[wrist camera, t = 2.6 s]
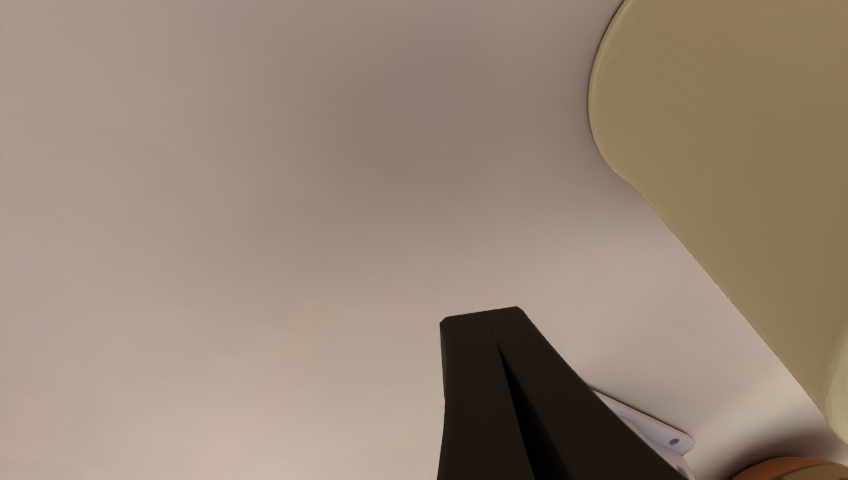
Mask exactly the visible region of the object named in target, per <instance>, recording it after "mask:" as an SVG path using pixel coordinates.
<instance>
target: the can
mask: <svg viewBox="0 0 848 480" xmlns="http://www.w3.org/2000/svg"><path fill="white" fill-rule="evenodd" d="M588 110H589V121H590V126H591V130H592V134H593V138H594V141H595V143H596V146H597V148H598V150H599V152H600V154H601V155H602V157H603V159H604V160H605V161H606V163H607V164H608V165H609V167H610V168H611V169H612V170H613V171H614V172H615V173H616V174H617V175H618V176H619V177H620V178H622V179H623V180H624V181H626V182H627V183H629V184H630V185H632V187H633V188H634V189H635V190H636V191H637V192H638V193H639V194H640V195H641V196H642V197H643V198H644V200H645V201H646V202H647V203H648V204H649V205H650V206H651V208H652V209H653V210H654V211H655V212H656V213H657V215H658V216H659V217H660V218H661V219H662V220H663V221H664V223H665V224H666V225H667V226H668V227H669V228H670V229H671V231H672V232H673V233H674V234H675V235H676V236H677V238H678V239H679V240H680V241H681V242H682V243H683V244H684V246H685V247H686V248H687V249H688V250H689V252H690V253H691V254H692V255H693V256H694V258H695V259H696V260H697V261H698V262H699V264H700V265H701V266H702V267H703V268H704V269H705V271H706V272H707V273H708V274H709V275H710V277H711V278H712V279H713V280H714V281H715V283H716V284H717V285H718V286H719V287H720V289H721V290H722V291H723V292H724V293H725V295H726V296H727V297H728V298H729V299H730V301H731V302H732V303H733V304H734V305H735V306H736V308H737V309H738V310H739V311H740V312H741V314H742V315H743V316H744V317H745V318H746V320H747V321H748V322H749V323H750V324H751V326H752V327H753V328H754V329H755V330H756V332H757V333H758V334H759V335H760V336H761V338H762V339H763V340H764V341H765V342H766V343H767V345H768V346H769V347H770V348H771V349H772V351H773V352H774V353H775V354H776V355H777V357H778V358H779V359H780V360H781V361H782V363H783V364H784V365H785V366H786V368H787V369H788V370H789V371H790V373H791V374H792V375H793V376H794V378H795V379H796V380H797V381H798V383H799V384H800V385H801V386H802V388H803V389H804V390H805V391H806V393H807V394H808V395H809V396H810V398H811V399H812V400H813V401H814V403H815V404H816V405H817V407H818V408H819V409H820V411H821V412H822V414H823V415H824V417H825V419H826V421H827V423H828V424H829V426H830V427H831V429H832V430H833V431H834V432H835V434H836V435H837V436H838V437H839V438H840V439H841V440H842V441H843V442H845V443H846V444H847V445H848V0H625V1H624V2H623V4H622V5H621V7H620V8H619V10H618V11H617V13H616V14H615V16H614V18H613V19H612V21H611V23H610V25H609V27H608V29H607V31H606V33H605V35H604V37H603V39H602V42H601V44H600V47H599V50H598V53H597V55H596V58H595V61H594V65H593V68H592V73H591V77H590V84H589V94H588Z"/></svg>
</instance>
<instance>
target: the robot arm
mask: <svg viewBox="0 0 848 480" xmlns="http://www.w3.org/2000/svg"><path fill="white" fill-rule="evenodd" d="M440 337H441V353H442V369H443V385H444V397H445V415H444V428H443V437H442V445H441V453H440V460H439V468H438V476H437V480H696V479H695V477H694V475H693V474H692V472H691V470H690V468H689V467H688V465H687V463H686V461H685V460H684V458H683V455H684V454H685V453H687V452H688V451H689V450H691V449H692V448H693V446H694V441H693V439H692V438H691V437H690V436H689V435H687V434H685V433H683V432H681V431H678V430H676V429H674V428H672V427H670V426H668V425H666V424H664V423H662V422H659V421H657V420H655V419H653V418H651V417H649V416H647V415H645V414H643V413H641V412H638V411H636V410H634V409H632V408H630V407H628V406H626V405H624V404H622V403H619V402H617V401H615V400H613V399H611V398H609V397H607V396H605V395H603V394H601V393H598V392H596V391H594V390H592V389H591V388H590V387H589V386H588V385H587V384H586V383H585V382H584V381H583V380H582V379H581V378H580V377H579V376H578V375H577V374H576V373H575V371H574V370H573V369H572V368H571V367H570V366H569V365H568V364H567V363H566V362H565V360H564V359H563V358H562V357H561V356H560V355H559V354H558V353H557V351H556V350H555V349H554V348H553V347H552V346H551V344H550V343H549V342H548V341H547V340H546V339H545V337H544V336H543V335H542V334H541V333H540V331H539V330H538V329H537V328H536V327H535V325H534V324H533V323H532V322H531V320H530V319H529V318H528V317H527V315H526V314H525V313H524V311H523V310H521V309H520V308H519V307H517V306H515V307H508V308H502V309H495V310H488V311H482V312H475V313H469V314H462V315H456V316H449V317H446V318H444V319H443V320H442V321H441V322H440Z"/></svg>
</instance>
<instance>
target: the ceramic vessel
mask: <svg viewBox="0 0 848 480" xmlns="http://www.w3.org/2000/svg"><path fill="white" fill-rule="evenodd" d="M731 480H848V466H845V465H842V464H839V463H835V462H831V461H826V460H821V459H815V458H808V457H798V456H785V457H778V458H773V459H769V460H766V461H763V462H760V463H758V464H756V465H753V466H751V467H749V468H747V469H746V470H744V471H742V472H741V473H739V474H737V475H736V476H735V477H733V478H732V479H731Z"/></svg>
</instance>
